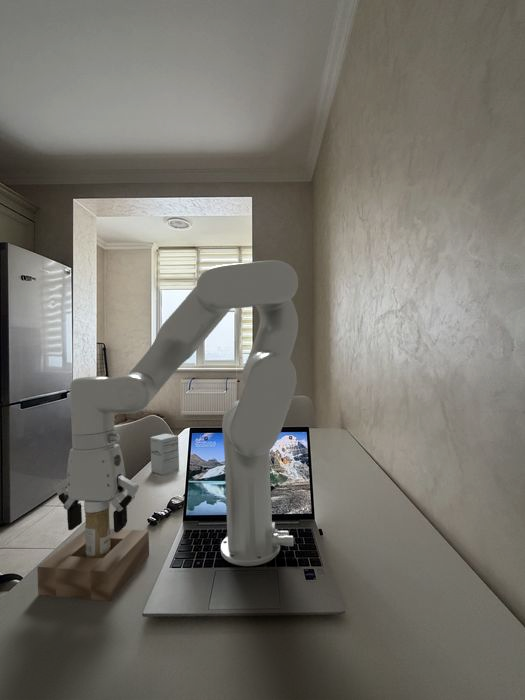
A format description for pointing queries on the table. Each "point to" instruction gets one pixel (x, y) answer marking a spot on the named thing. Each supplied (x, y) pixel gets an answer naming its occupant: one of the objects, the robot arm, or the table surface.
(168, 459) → the supplement box
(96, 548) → the sprinkles bottle
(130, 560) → the socket block
